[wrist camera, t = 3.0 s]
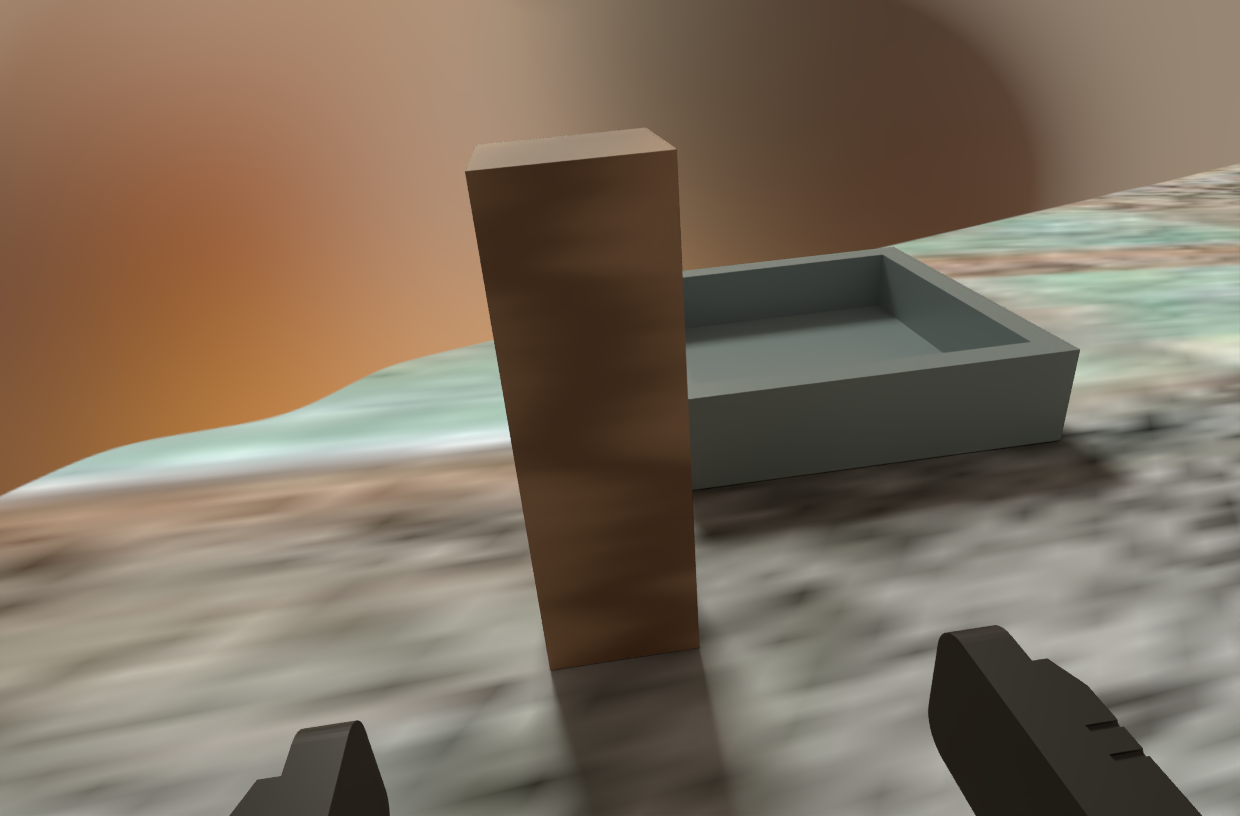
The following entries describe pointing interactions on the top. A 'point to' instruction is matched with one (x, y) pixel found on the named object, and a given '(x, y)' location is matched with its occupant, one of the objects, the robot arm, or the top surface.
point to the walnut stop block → (594, 383)
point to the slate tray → (858, 368)
